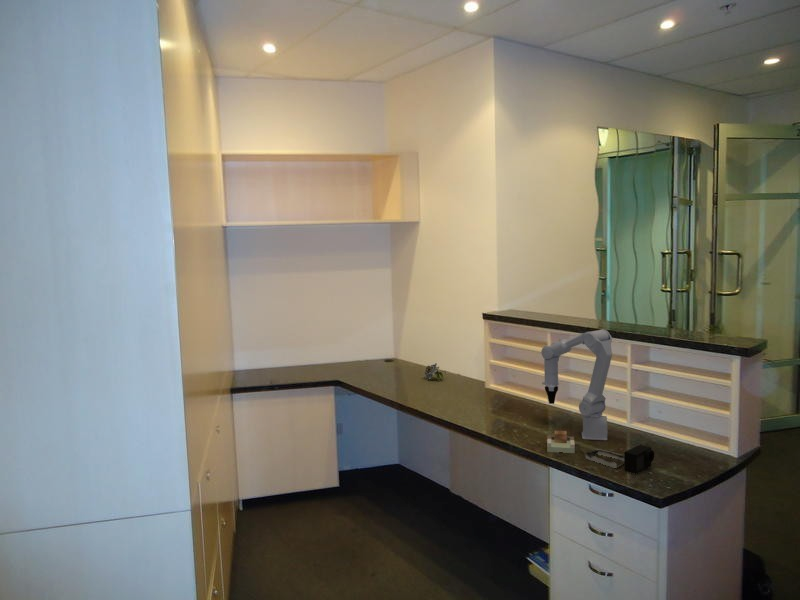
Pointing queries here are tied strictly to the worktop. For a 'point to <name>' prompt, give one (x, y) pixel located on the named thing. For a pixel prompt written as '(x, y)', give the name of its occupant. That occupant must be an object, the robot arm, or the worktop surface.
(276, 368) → the worktop surface
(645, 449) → the digital camera
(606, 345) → the robot arm
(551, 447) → the board
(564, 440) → the block
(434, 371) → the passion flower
